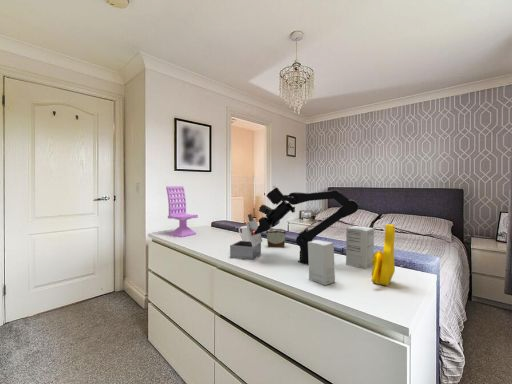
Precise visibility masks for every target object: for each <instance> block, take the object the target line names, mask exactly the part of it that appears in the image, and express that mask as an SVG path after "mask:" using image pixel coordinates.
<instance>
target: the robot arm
mask: <svg viewBox="0 0 512 384" xmlns="http://www.w3.org/2000/svg"><path fill="white" fill-rule="evenodd" d="M266 197H267V198H268V200H269V201H270V202H271V203H272V204H273V205H276V207H275V208H271V207H269V206H268V205H266V204H261V205H260V207H259V210H258V211H259V212H260V213H263V214H264V215H265V216H262V217H260V218H259V219H258V221H257V222H258V228H257V230H256V231H255V235H256V234H259V233H260V234H261V233H266V231H267V230H269V229H273V228H274V227H276V226H278V225H279V224H280V221H281V220H282V219H283V218H284V217H285V216H286V215H287V214H288V213H289V212H291V213H293V214H294V213H295V212H296V206H295V205H299V204H303V203H306V202H310V201H321V200H331V199H332V200H333V199H334V200H335V201H336V202H337V203H338V204H339V205H341V206H340V207H339V208H338V209H337V210H336V211H335V212H334V213H332V214H331V215H329V216H328V217H327V218H325V219H324V220H322V221H321V222H319V223H317V225H315V226H314V227H312V228H310V229H309V228H308V227H306V228H305V229H303V230H302V231H300V232H299V233H298V236H296V240H295V241H296V245H298V247H299V260H298V261H297V262H298V263H301V264H304V265H306V266H307V265H308V266H309V261H308V242H310V241H314V239H315V238H316V237H317V236H318V235H319V234H321V233H322V232H324V231H325V230H327V229H328V228H330V227H331V226H332V225H334V224H336V223H337V222H338V221H340V220H341V219H344V218H347V217H348V216H351V215H352V214H356V212H357V211H358V209H359V203H357V201H356V200H354V199H349V198H348V197H347V196H345V195H344V194H342V193H341V192H340V191H339V190H338V189H333V190H326V191H317V192H297V191H296V192H290V193H289V194H283V193H282V192H281V190H280V189H279V187H275V188H273V189H272V190H271V191H269V192H268V193H267V194H266ZM292 205H294V206H292Z"/></svg>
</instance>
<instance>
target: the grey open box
mask: <svg viewBox="0 0 512 384" xmlns="http://www.w3.org/2000/svg"><path fill="white" fill-rule="evenodd" d="M229 249H230V250H229V251H230V252H229V258H230V259H239V260H249V261H254V260H255V259H256V258H257V257H259V256H260V255H262V242H261V243H259V244H257V245H256V246H254V247H252V243H251V242H250V241H242V240H239V241H237V242H234V243H232V244H230V245H229Z"/></svg>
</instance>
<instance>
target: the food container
mask: <svg viewBox="0 0 512 384" xmlns="http://www.w3.org/2000/svg"><path fill="white" fill-rule="evenodd" d="M265 234H266V240H267V241H266V242H267V248H273V249H274V248H277V249H284V248H285V245H286V244H285V243H286V235H288V234H287V230H286V229H283V228H270V229H269V230H267V231H265Z"/></svg>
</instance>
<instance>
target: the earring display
mask: <svg viewBox="0 0 512 384" xmlns="http://www.w3.org/2000/svg"><path fill="white" fill-rule="evenodd" d="M165 189H166V194H167V200H168V201H167V202H168V215H167V219H169V220H171V219H174V220H178V221H179V223H178V225H179V226H178V227H177V228H176V229H174V230H173V231H171V232H170V233H169V236H171V235H173V237H177V236H178V237H179V238H186V237H190V236H195V235H197V232H195V231H194V230H193V229H192V228H190V227H188V226H187V225H188V224H187V223H188V221H187V220H191V219H196V218H198V217H199V216H198V214H190V213H189V214H188V213H187V203H186V202H187V201H186V193H185V188H184V186H183V185H182V186H177V185H175V186H166V188H165Z"/></svg>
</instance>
